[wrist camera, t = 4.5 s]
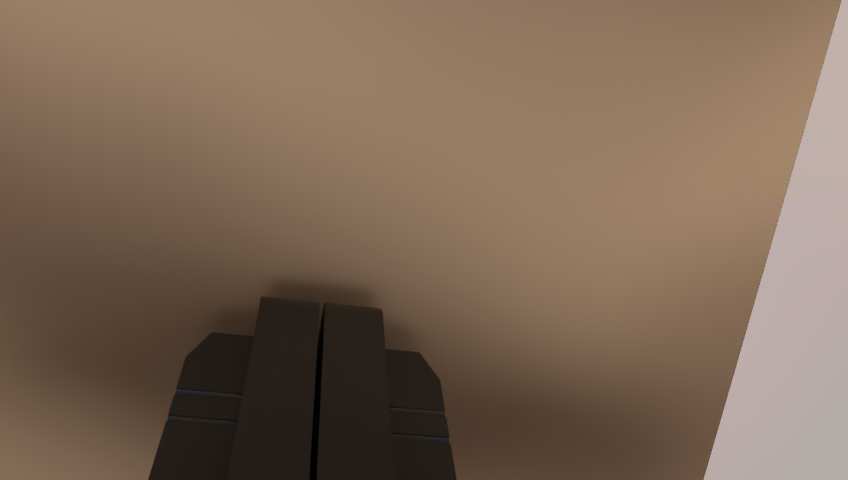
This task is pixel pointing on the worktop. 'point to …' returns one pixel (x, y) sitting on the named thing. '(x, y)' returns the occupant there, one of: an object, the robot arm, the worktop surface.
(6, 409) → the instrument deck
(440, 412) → the robot arm
